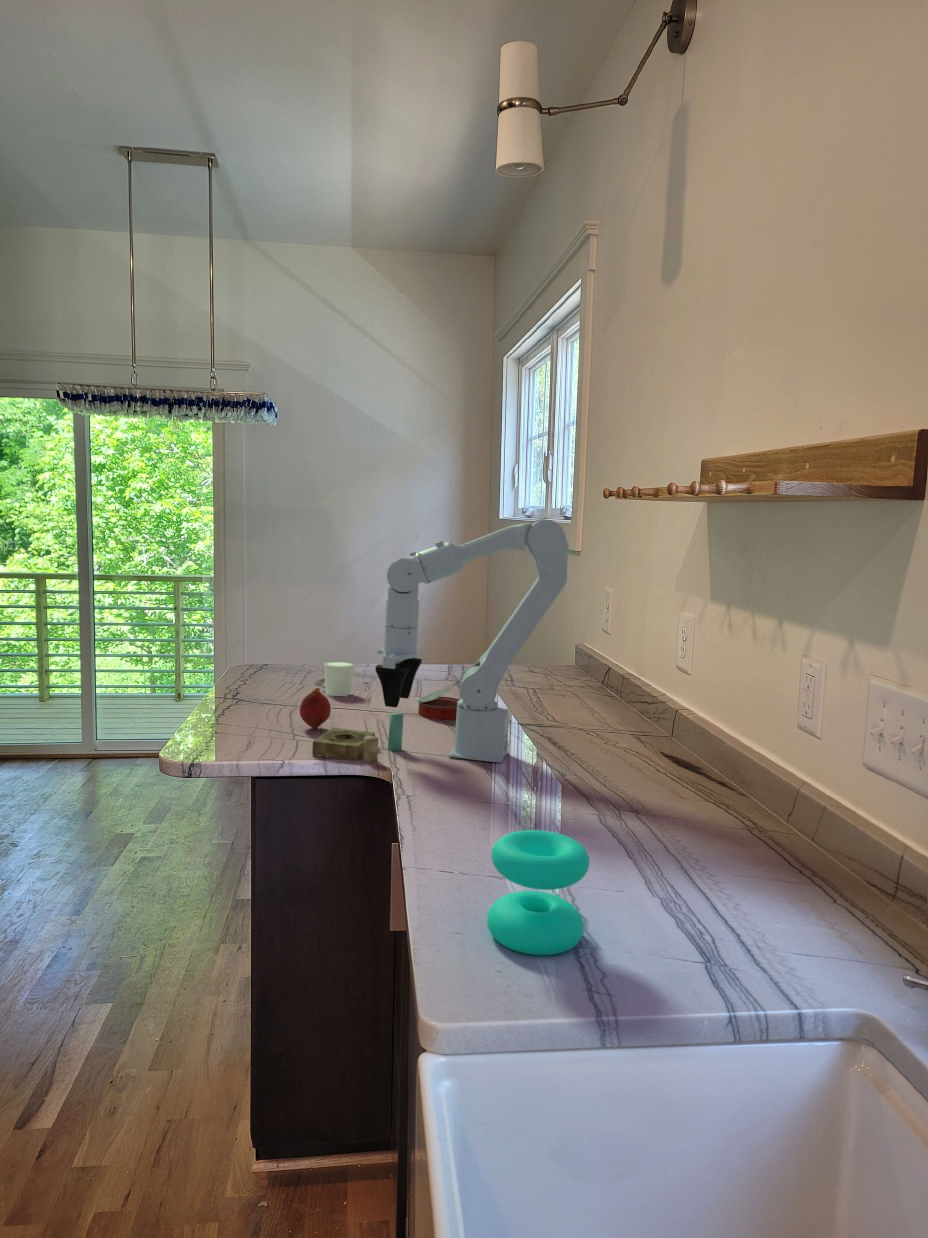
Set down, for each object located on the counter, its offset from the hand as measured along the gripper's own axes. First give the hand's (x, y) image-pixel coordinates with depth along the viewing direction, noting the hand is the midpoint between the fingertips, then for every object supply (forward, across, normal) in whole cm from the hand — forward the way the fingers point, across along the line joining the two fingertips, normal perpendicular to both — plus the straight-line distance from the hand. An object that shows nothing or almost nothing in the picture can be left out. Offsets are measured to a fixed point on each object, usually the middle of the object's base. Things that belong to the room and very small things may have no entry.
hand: (397, 702), depth 155 cm
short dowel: (+9, +8, -2) cm, 12 cm away
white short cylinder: (+9, -38, -24) cm, 46 cm away
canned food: (+9, -30, +2) cm, 31 cm away
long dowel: (+9, 0, 0) cm, 9 cm away
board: (+9, +4, -8) cm, 13 cm away
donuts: (+9, +62, +32) cm, 70 cm away
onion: (+9, -8, -18) cm, 21 cm away
